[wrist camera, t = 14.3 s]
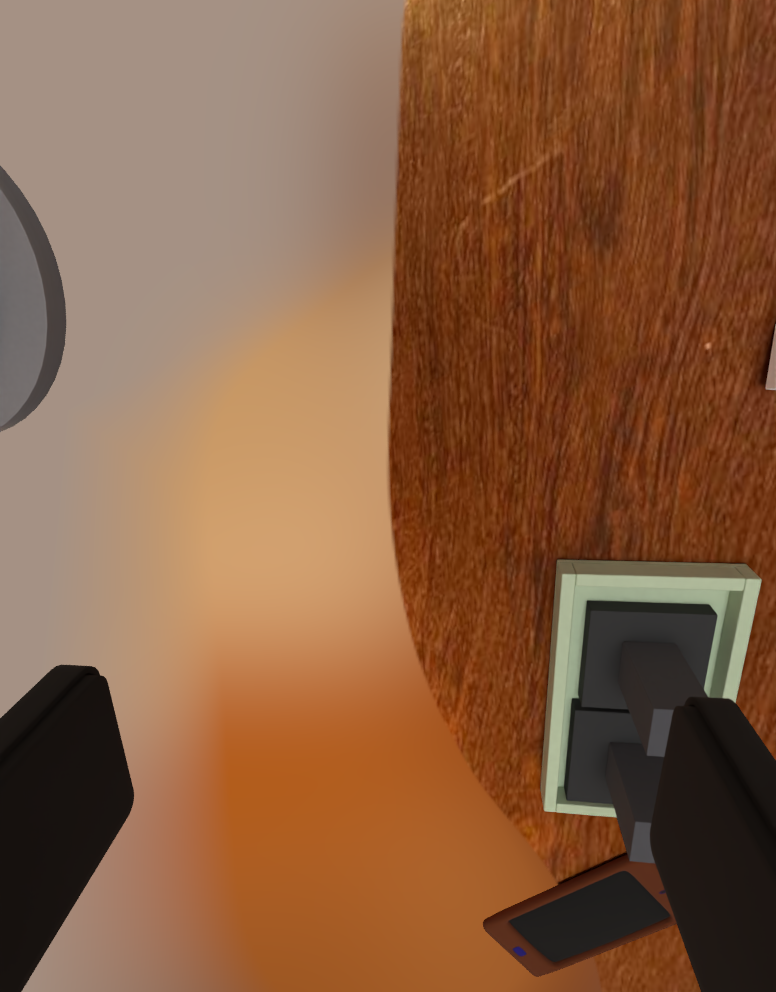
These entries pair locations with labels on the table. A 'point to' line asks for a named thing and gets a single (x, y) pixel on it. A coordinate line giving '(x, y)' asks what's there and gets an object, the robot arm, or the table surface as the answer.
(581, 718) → the black base pad
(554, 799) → the frame tray
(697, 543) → the table surface
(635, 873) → the smartphone
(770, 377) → the bracket
